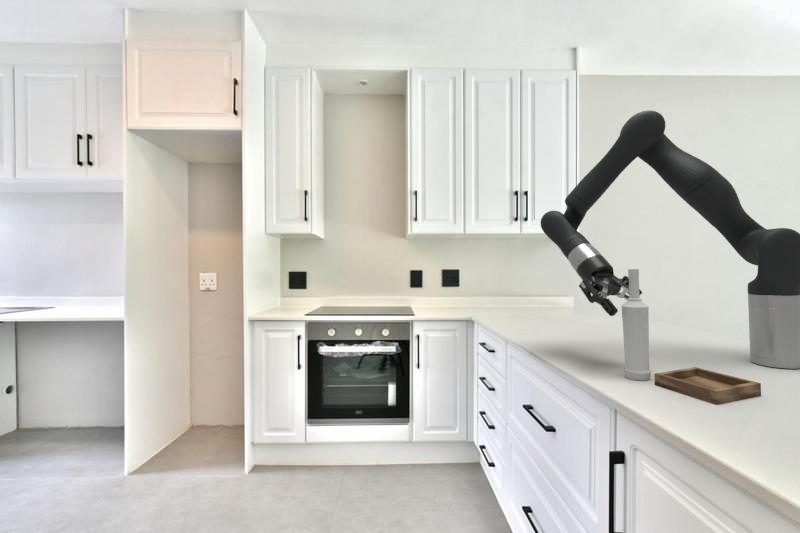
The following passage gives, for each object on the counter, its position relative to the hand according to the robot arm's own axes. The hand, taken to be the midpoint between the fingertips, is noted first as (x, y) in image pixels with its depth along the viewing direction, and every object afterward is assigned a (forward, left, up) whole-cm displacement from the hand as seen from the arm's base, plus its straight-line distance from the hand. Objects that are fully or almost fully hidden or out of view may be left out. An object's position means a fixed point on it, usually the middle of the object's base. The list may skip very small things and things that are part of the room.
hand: (629, 312), depth 85 cm
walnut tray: (-5, +13, -15) cm, 20 cm away
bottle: (0, +2, -15) cm, 15 cm away
